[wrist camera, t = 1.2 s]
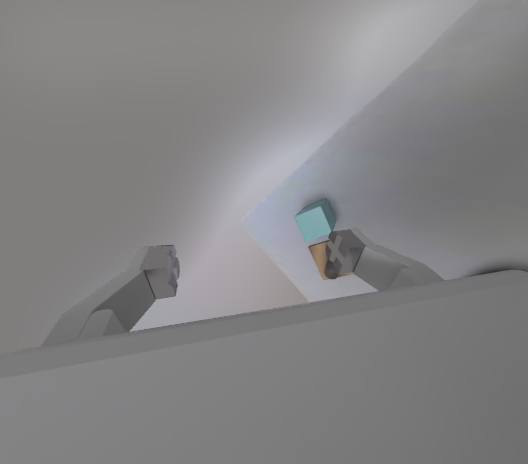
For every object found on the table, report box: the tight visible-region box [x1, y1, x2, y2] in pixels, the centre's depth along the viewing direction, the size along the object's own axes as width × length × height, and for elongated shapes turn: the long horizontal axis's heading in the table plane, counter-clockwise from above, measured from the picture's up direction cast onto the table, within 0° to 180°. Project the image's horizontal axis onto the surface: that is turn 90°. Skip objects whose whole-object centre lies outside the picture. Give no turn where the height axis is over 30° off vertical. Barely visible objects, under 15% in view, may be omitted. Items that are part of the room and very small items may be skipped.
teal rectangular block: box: [294, 198, 336, 242], centre depth 46 cm, size 6×6×9 cm
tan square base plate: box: [308, 240, 354, 280], centre depth 48 cm, size 10×10×8 cm
